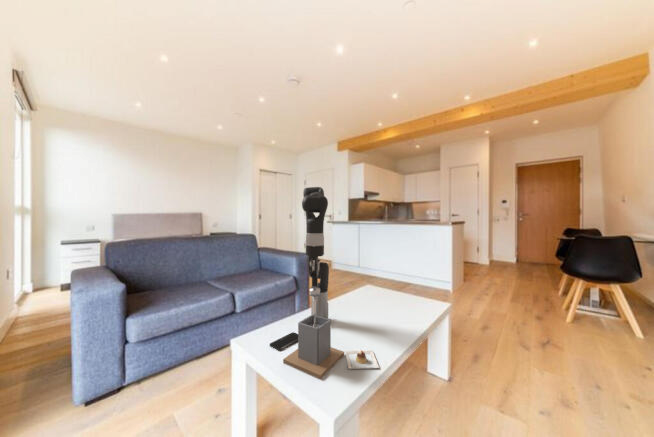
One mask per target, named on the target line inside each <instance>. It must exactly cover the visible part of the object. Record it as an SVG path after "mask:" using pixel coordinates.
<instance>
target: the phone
mask: <svg viewBox="0 0 654 437" xmlns="http://www.w3.org/2000/svg"><path fill="white" fill-rule="evenodd" d="M296 342H297V343H298V332H297V333H296V332H290V333H288V334H286V335H284V336H282V337H279V338H277V339H276V340H274V341H272V342H270V343H269V347H270V346H271V347H270V348H272V347H273V349H274V348H275V349H276V350H275V349H274V350H275V351H277V350H278V351H277V352H281V351H284V350H285V348H286V349H288V348H289V347H292V346H293V345H295V344H296Z"/></svg>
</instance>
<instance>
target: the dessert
mask: <svg viewBox="0 0 654 437" xmlns="http://www.w3.org/2000/svg"><path fill="white" fill-rule="evenodd" d="M344 354H345V358H346V362H347V367H348V369H349V370H354V369H357V370H359V369H367V370H368V369H370V367H352V365H351V361H350V360H351V359H350V356H349V355H356V358H355V362H356V363H358V364H360V365H361V364H362V365H364V364H367V362H368V359H367V356H366V355H370V357H371V359H372V363H373V364H374V366H373V367H371V369H380V365H379V363H378V361H377V358H376V356H375V353H374V350H361V349H360V350H345V351H344Z"/></svg>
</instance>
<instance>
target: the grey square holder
mask: <svg viewBox="0 0 654 437" xmlns="http://www.w3.org/2000/svg"><path fill="white" fill-rule="evenodd" d="M331 322H332V321H331V319H329V318H328V319H326V318H323V317H319V316H316V323H317V324H320V325H321V326H319V327H318V328H316V327H313V326H310V325H309V324H311V323H313V315H309V316H307V317H305V318H304V319H302V320H300V321H299V322H298V323H297V327H298V328H297V329H298V330H297V334H298V342H297V349H295V350H294V351H293V352H292V353H290V354H289V355H287V356H286V357H284V358H282V363H283V364H285V365H287V366H289V367H292V369H293V368H294V369H296V370H298V371H300V372H303V373H304V374H307V375H309V376H311V377H314V378H315V379H318V380H321V379H323V377H324V376H325V375H327V373H328V372H329V371H330V370H331V369H332V368H333V367H334V366H336V364H337V363H338V362H340V360H342V359H343V357H344V356H345V351H343V350H340V349H337V348H335V347H332V346H331V338H332V336H331V335H332V334H331V331H332V330H331V328H332V327H331V324H332V323H331Z"/></svg>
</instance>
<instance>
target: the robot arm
mask: <svg viewBox="0 0 654 437" xmlns="http://www.w3.org/2000/svg"><path fill="white" fill-rule="evenodd" d="M328 206H329V201H328V199H327V197H326V196H325V191H324V189H323V188H322V187H321V186H320V187H319V186H314V187H313V186H312V187H305V188H303V198H302V201H301V207H302V210H303V212H305V220H306V221H305V222H306V234H305V235H306V236H305V256H306V257H308V258H307V261H308V263H307V265H308V269H307V270H308V271H307V272H308V275H309V278H311V287H310V288H312V287H318V288H320V295H319V296H316V316H319V317H323V318H326V319H329V302H328V300H329V299H328V297H329V293H328V292H329V291H328V289H329V279H330V278H329V276H330V266H329V264H328V263H327V262H324V261H323V262H322V261H321V260H320V259H319V257H324V256H325V236H324V234H325V233H324V223H325V218H326V214H327V210H328ZM317 213H318V215H317V216H316V215H315V214H317ZM318 279H319V282H318ZM310 297H311V298H310V299H311V302H310V303H311V315H313V296H310ZM311 315H310V316H311Z"/></svg>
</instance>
